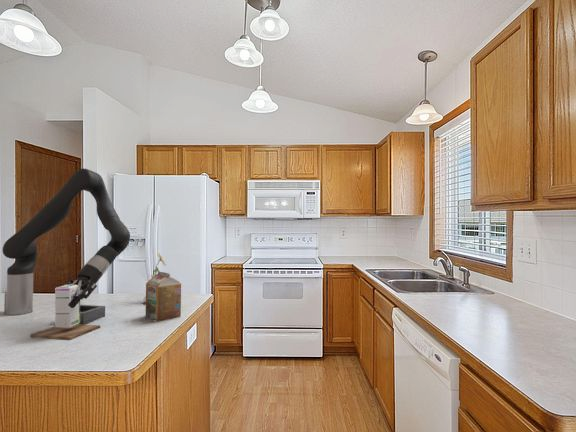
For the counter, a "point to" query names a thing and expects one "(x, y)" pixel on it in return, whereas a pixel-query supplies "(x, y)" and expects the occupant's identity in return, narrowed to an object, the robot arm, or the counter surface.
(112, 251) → the robot arm
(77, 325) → the walnut mat
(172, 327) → the counter surface
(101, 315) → the square socket
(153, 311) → the milk carton
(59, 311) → the syrup box
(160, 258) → the flower in vase
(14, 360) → the counter surface
